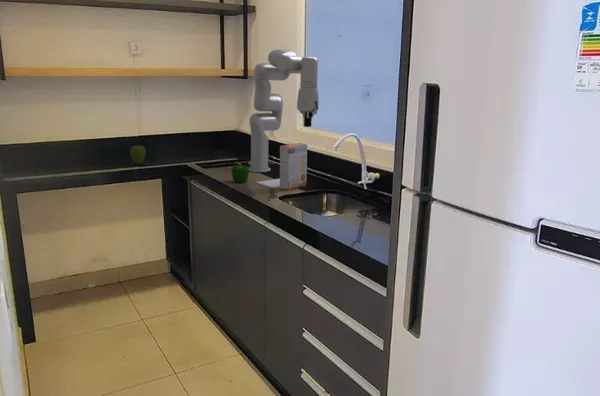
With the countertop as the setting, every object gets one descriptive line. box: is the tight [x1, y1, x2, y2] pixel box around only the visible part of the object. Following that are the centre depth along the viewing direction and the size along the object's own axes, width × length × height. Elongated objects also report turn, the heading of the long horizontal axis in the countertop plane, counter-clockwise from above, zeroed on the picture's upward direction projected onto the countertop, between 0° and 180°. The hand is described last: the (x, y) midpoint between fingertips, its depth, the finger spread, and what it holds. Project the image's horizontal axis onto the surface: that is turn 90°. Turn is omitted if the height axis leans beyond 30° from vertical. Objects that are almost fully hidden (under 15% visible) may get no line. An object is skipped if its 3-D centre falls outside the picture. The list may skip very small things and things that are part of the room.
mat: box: [255, 178, 280, 189], centre depth 255 cm, size 14×18×1 cm
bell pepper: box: [231, 161, 250, 184], centre depth 255 cm, size 8×8×10 cm
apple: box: [129, 144, 147, 165], centre depth 291 cm, size 9×8×12 cm
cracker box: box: [279, 142, 308, 191], centre depth 245 cm, size 14×6×21 cm, turn 141°
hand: (307, 126), depth 233 cm, fingers closed
